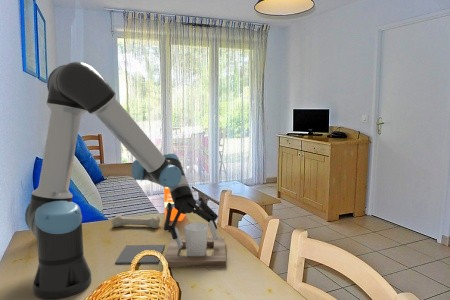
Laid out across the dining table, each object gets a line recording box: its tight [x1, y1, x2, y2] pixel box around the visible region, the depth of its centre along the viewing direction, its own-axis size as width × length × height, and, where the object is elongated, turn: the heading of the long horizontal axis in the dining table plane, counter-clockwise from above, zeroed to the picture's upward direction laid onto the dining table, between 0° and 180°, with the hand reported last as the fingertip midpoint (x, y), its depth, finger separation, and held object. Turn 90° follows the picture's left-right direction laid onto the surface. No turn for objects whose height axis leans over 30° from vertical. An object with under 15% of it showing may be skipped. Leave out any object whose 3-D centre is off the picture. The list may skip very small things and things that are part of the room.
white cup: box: [183, 222, 209, 256], centre depth 121 cm, size 8×8×10 cm
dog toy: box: [111, 214, 161, 229], centre depth 149 cm, size 20×6×5 cm, turn 85°
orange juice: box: [163, 187, 187, 222], centre depth 159 cm, size 8×9×20 cm
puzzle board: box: [164, 236, 227, 269], centre depth 121 cm, size 20×20×2 cm
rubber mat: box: [114, 244, 165, 265], centre depth 121 cm, size 14×14×1 cm
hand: (199, 242), depth 119 cm, fingers open, 13 cm apart
